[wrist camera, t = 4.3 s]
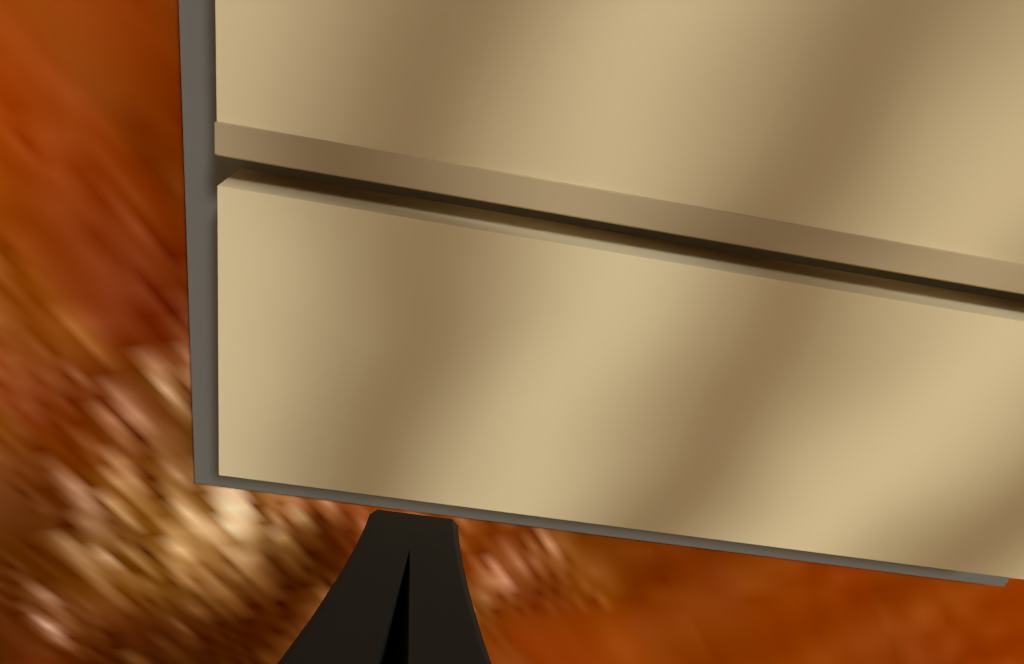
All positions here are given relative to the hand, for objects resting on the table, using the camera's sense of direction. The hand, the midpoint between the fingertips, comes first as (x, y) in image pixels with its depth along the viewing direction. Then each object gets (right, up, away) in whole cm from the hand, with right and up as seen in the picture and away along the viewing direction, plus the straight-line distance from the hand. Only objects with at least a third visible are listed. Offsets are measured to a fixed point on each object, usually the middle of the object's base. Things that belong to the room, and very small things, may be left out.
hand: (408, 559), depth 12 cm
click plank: (+5, +3, +3) cm, 7 cm away
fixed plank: (+6, +9, +1) cm, 11 cm away
